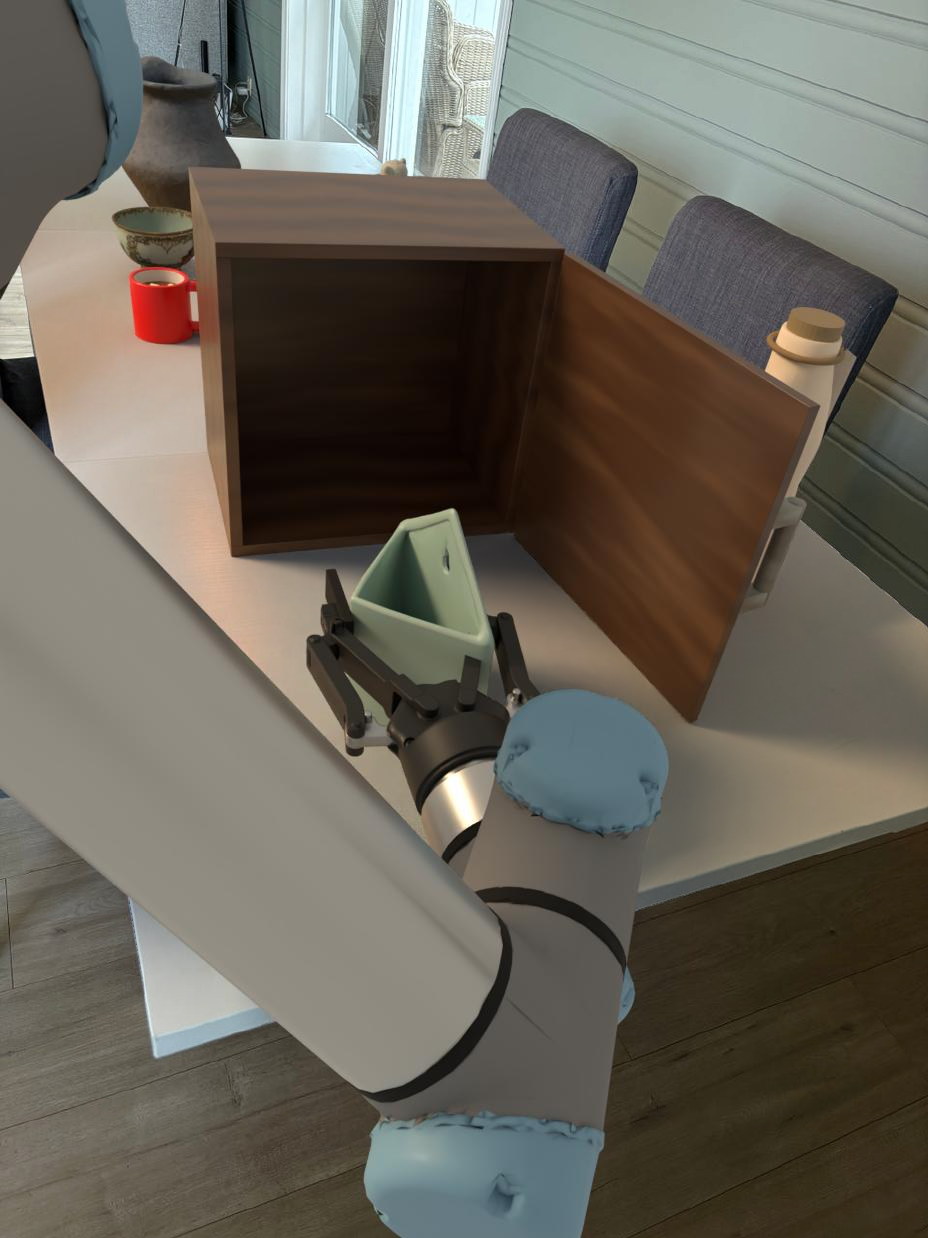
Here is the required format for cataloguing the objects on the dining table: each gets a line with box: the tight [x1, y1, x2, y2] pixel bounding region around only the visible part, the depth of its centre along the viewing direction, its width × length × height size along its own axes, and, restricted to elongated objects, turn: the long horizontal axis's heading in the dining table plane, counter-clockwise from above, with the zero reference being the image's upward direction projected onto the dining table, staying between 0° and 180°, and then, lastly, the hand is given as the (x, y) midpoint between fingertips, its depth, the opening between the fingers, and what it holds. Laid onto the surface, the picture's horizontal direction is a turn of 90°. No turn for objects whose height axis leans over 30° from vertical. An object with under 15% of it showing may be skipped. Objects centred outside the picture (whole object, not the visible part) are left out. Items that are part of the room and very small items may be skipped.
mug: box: [128, 267, 200, 345], centre depth 128 cm, size 8×12×8 cm, turn 102°
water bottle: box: [751, 306, 858, 583], centre depth 91 cm, size 10×9×28 cm
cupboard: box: [189, 167, 566, 557], centre depth 94 cm, size 22×30×30 cm
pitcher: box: [121, 55, 242, 213], centre depth 161 cm, size 21×22×25 cm
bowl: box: [111, 206, 195, 272], centre depth 146 cm, size 14×13×8 cm
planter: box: [346, 508, 495, 726], centre depth 70 cm, size 16×8×20 cm, turn 25°
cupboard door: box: [512, 252, 820, 723], centre depth 82 cm, size 7×30×30 cm, turn 28°
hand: (385, 577), depth 73 cm, fingers closed on planter, 8 cm apart
